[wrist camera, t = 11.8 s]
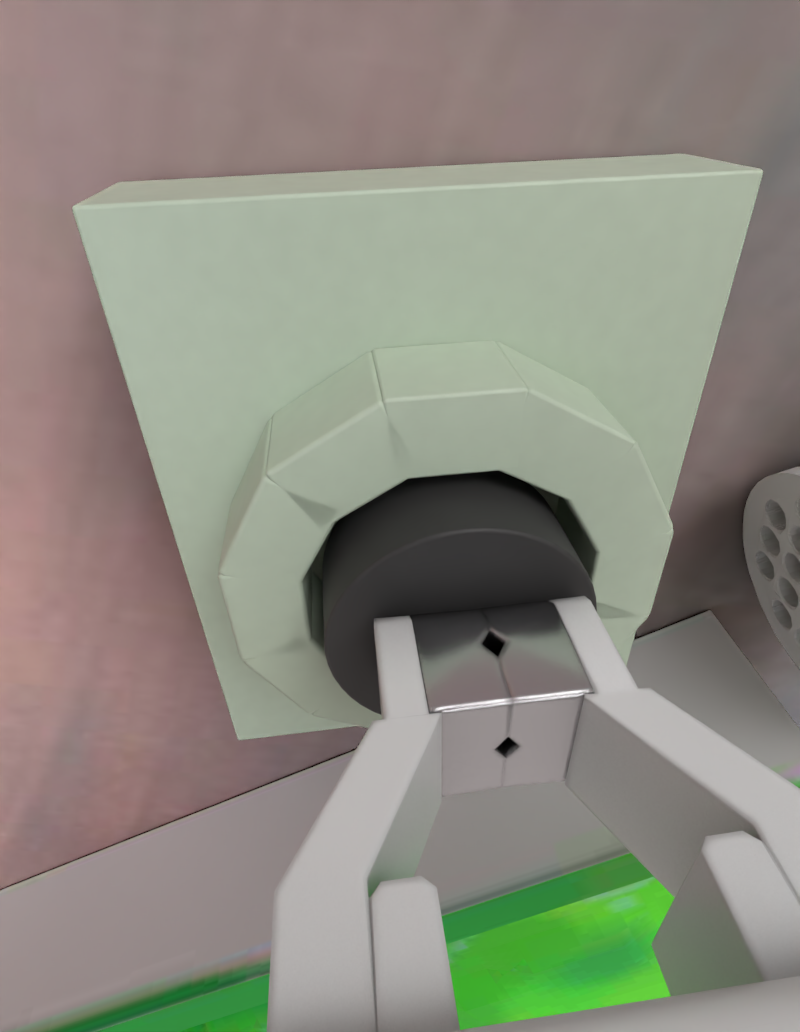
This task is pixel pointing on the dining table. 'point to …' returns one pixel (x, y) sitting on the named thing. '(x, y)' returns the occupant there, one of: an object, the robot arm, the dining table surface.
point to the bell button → (438, 562)
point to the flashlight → (776, 553)
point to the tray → (444, 862)
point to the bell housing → (409, 371)
